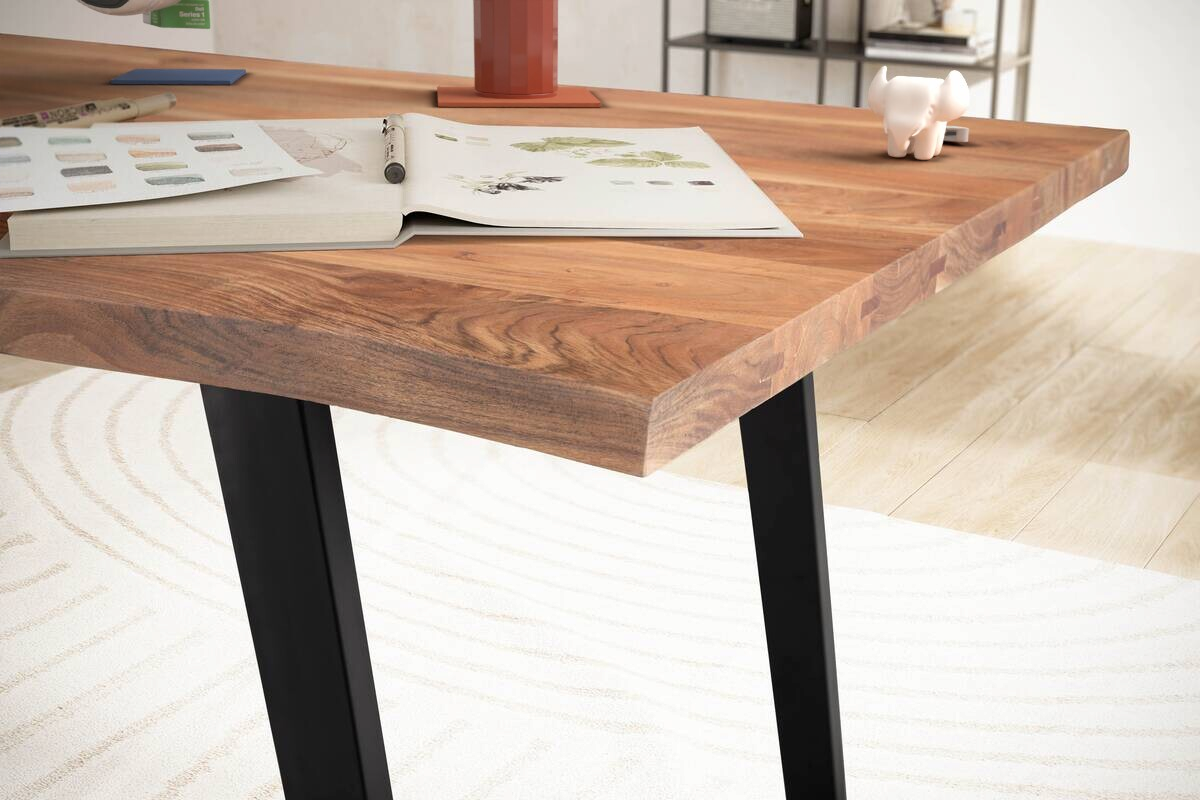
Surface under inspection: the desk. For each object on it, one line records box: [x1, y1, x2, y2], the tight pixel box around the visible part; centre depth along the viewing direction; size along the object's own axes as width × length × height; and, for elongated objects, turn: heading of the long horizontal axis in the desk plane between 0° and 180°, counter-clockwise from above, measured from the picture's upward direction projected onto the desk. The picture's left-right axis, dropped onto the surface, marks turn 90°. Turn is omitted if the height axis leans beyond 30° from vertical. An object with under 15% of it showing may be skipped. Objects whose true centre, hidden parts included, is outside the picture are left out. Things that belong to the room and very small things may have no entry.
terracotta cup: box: [472, 0, 559, 99], centre depth 114 cm, size 7×7×9 cm
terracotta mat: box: [436, 86, 602, 108], centre depth 115 cm, size 14×12×1 cm
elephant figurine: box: [867, 65, 970, 161], centre depth 86 cm, size 7×8×6 cm
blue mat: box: [110, 68, 247, 86], centre depth 126 cm, size 11×11×1 cm
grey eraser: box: [943, 125, 970, 143], centre depth 95 cm, size 6×2×1 cm, turn 24°
